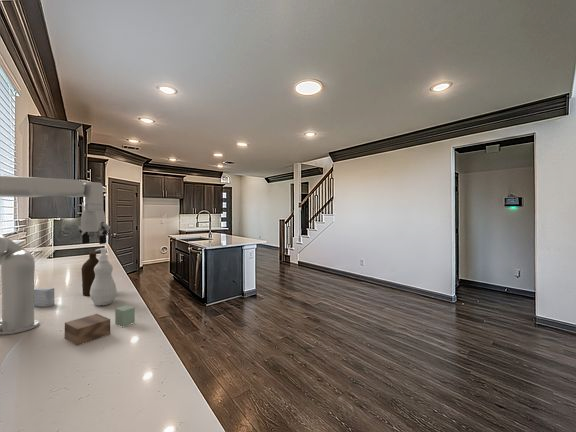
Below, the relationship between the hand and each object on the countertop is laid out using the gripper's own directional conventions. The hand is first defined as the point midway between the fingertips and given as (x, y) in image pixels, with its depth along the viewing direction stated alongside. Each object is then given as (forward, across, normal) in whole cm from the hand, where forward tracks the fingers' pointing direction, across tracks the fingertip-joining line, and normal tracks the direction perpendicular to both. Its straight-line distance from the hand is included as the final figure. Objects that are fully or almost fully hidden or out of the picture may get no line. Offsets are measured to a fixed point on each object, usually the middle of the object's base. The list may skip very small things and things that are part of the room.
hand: (94, 243), depth 129 cm
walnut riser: (+33, +19, -21) cm, 44 cm away
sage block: (+34, +24, -8) cm, 42 cm away
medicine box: (+34, -35, +3) cm, 48 cm away
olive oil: (+34, -29, +25) cm, 51 cm away
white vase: (+34, -8, +12) cm, 37 cm away
